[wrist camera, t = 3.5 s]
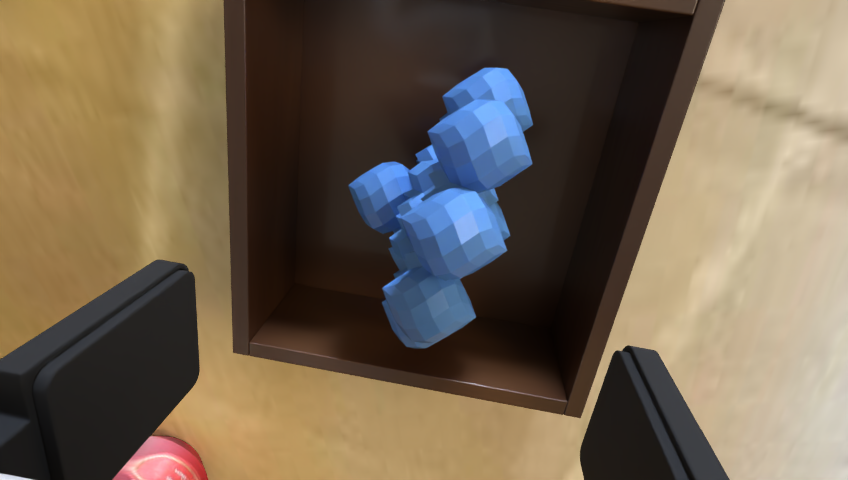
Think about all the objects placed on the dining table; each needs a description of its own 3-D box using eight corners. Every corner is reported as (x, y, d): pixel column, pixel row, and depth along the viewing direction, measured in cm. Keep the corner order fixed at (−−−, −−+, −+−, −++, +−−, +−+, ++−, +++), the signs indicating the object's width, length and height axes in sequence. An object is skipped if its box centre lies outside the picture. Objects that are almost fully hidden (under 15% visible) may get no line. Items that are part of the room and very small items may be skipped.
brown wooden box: (284, 288, 29) (232, 353, 23) (292, -47, 22) (220, -79, 16) (560, 338, 28) (581, 418, 22) (659, 5, 21) (729, -8, 15)
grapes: (408, 32, 22) (332, 23, 11) (547, 75, 22) (610, 110, 11) (354, 251, 27) (263, 397, 16) (469, 286, 27) (459, 458, 16)
